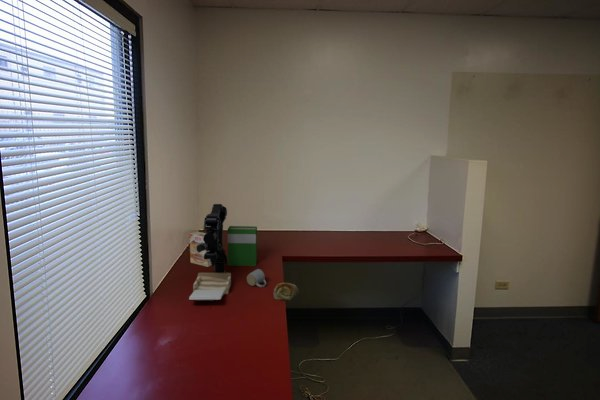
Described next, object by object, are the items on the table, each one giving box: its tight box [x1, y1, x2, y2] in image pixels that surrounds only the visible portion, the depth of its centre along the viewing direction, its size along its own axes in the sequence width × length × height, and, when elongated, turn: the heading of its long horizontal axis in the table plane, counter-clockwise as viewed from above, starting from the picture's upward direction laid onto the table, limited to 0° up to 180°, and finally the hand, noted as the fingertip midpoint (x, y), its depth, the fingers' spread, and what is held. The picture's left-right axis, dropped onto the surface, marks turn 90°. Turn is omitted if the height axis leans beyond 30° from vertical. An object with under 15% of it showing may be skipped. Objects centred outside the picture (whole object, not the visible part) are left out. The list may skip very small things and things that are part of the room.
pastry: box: [273, 282, 299, 301], centre depth 192 cm, size 14×12×8 cm
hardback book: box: [227, 225, 258, 267], centre depth 234 cm, size 18×7×24 cm, turn 91°
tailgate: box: [188, 290, 225, 301], centre depth 183 cm, size 2×15×13 cm
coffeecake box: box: [189, 231, 212, 268], centre depth 233 cm, size 15×7×20 cm, turn 62°
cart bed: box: [192, 272, 232, 295], centre depth 198 cm, size 13×18×6 cm
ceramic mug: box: [246, 268, 267, 288], centre depth 204 cm, size 11×8×8 cm
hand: (213, 265), depth 199 cm, fingers closed
